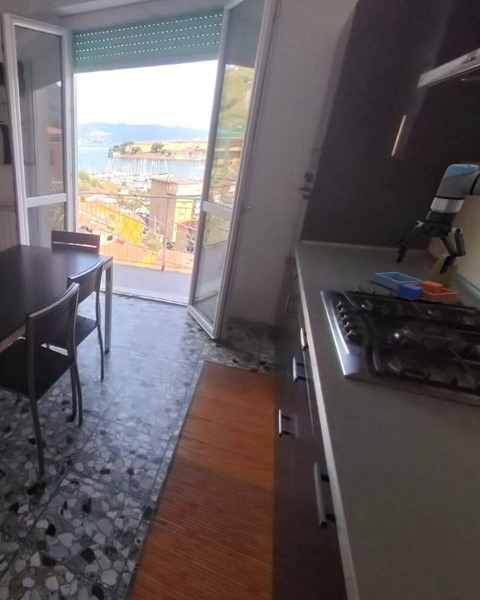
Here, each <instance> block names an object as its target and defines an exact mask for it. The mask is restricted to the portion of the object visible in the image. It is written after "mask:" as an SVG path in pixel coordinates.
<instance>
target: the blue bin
mask: <svg viewBox="0 0 480 600" xmlns="http://www.w3.org/2000/svg"><path fill="white" fill-rule="evenodd" d="M371 282H374V283H376V284H378V285H381V286H383V287H386V288H388V289H391V290H394V291H396V292H397V291H398V292H399V291H400V288H401V286H402V285H404V284H413V283H421V282H424V280H421V279H419V278H416V277H413V276H410V275H407V274H404V273H401V272H398V271H389V272H374V273H373V277H372V280H371Z"/></svg>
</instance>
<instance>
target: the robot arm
mask: <svg viewBox="0 0 480 600" xmlns="http://www.w3.org/2000/svg"><path fill="white" fill-rule="evenodd" d="M479 168H480V166H479V165H476V164H468V163H467V164H465V163H462V164H461V163H454V164H450V165H449V166H448V167H447V168H446V170H445V173H444V175H443V176H442V178H441V181H440V184H439V186H438V189H437V192H436V194H435V196H434V199H433V201H432V203H431V206H430V210H429V211H428V212H427V216H426V218H425V220H424V222H421V220H415V221H413V222H412V224H411V226H410V227H409V228H408V229H406V231H404V233H402V234H401V235H400V236H399V237H397V239H395V241H394V243H395V244H398V245H399V247H398V249H397V254H398V256H397V259H396V264H400V263H403V262H404V258H405V257H406V253H407V251H408V249H409V244H411V243H413V242H415V241H416V240H417V239H420V238H421V237H423V236H426V237H433V238H434V239H435V238H436V239H437V238H438V239H440V240H441V241H442V243H443V245H444V247H445V249H446V251H447V253H449V254H450V256H447V257H446V259H445V261H444V263H443V266H442V268H441V270H440V272H439V274H444V273H446V271H447V269H448V267H449V266H451V265H453V264H454V262H455V260H456V258H457V257H458V258H460V257H461V258H462V257H465V256H466V255H467V252H466V245H465V241H464V235H463V234H464V231H465V228H464V227H454V224H455V222H456V219H457V217H458V215H459V213H458V212H459V211H460V210H461V209H462V206H463V204H464V202H465V199H466V198H467V196H477V197H480V171H479ZM418 228H422V230H421V231H419V232H418V233H416V234H414V235H412V234H413V233H414V232H415V231H416V230H417V229H418ZM451 232H452V234H453V235H454V236H453V238H454V242H455V244H453V242H452V239H451V236H450V233H451ZM410 235H412V236H410ZM409 236H410V237H409ZM408 237H409V238H408ZM455 247H456V249H455Z"/></svg>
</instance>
